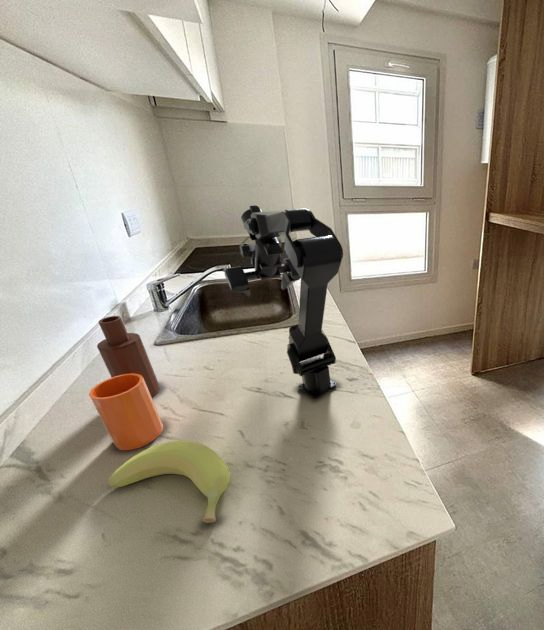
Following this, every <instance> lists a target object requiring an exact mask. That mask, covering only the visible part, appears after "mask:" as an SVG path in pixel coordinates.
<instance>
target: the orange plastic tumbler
mask: <svg viewBox="0 0 544 630" xmlns="http://www.w3.org/2000/svg"><path fill="white" fill-rule="evenodd" d="M88 397H89V399H90V400H91V402H92V404H93V407H94V409H95V410H96V412H97V414H98V416H99V418H100V420H101V421H102V424H103V426H104V428H105V429H106V432H107V433H108V435H109V437H110V439H111V441H112V443H113V444H114V446H115V447H116V448H115V449H117V450H120V451H132V450H135V449H139V448H142V447H144V446H146V445H148V444H150V443H152V442H153V441H154V440H156V439H157V438H158V437H159V436H160V435H161V434H162V433H163V430H164V425H163V421H162V419H161V416H160V415H159V412H158V409H157V408H156V405H155V403H154V399H153V397H151V395H150V393H149V390H148V388H147V385H146V383H145V381H144V378H143V377H142V376H141V375H140V374H135V373H132V374H123V375H119V376H115V377H112V378H111V377H109V378H107V379H105V380H103V381H100V382H98V384H95V386H93V387H92V388H91V389H90V390H89V393H88Z"/></svg>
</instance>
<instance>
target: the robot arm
mask: <svg viewBox="0 0 544 630" xmlns="http://www.w3.org/2000/svg"><path fill="white" fill-rule="evenodd" d="M240 220H241V222H242V224H243V229H244V230H245V231H246V233H247V234H248V236H249V239H250V240H251V241H254V242H249V243H247V242H246V243H239V252H240V256H242V258H243V259H244V258H245V259H246V258H250V264H251V266H252V267H254V270H252V271H246V272H245V270H244V268H243V267H242V265H239V266H233V267H226V268H225V270H224V271H223V272H224V277H225V280H226V281H227V284H228V286H229V288H230V291H231V292H235V293H236V292H238V293H243V294H244V295H246V296H247V298H251V295H252V294H251V288H250V284H249V283H250V282H255V281H260V280H261V281H266V280H270V279H276V278H281V282H280V288H281V290H282V291H284V290H285V289H287V288H288V287H289V286H291V285H293V284H294V283H295V282H297V281H300V285H299V289H300V290H299V308H298V324H295V325H292V326H290V328H289V329H288V344H287V346H286V347H287V348H286V354H287V357H288V360H289V363H290V365H291V369H292V373H293V374H294V375H298V376H299V377H301V379H302V383H300V384H299V385H297V389H298V390H299V391H301V392H302V393H304V394H305V395H308V396H309V397H310V398H312V399H314V400H315V399H318V398H320V397H321V396H322V395H324V394H325V393H328V391H330V390H332V389H333V388H335V387H336V386H337V382H335V381H333V380H332V379H331V376H330V375H331V374H330V367H329V366H331V365H335V364H336V361H337V357H336V355H335V353H334V350H333V347H332V345H331V343H330V341H329V339H328V336H327V335H326V334H325V332H324V330H323V325H324V315H325V307H326V301H327V291H328V284H329V283H330V282H331V281H332V280H333V279H334V278H335V276H337V275H338V274H339V271H340V268H341V264H342V260H343V258H344V252H343V251H344V249H343V246H342V244H341V242H340V240H339V239H338V238H337V235H336V234H335V232H334V231H333V229H332V228H331V227H329V226H328V225H327V224H325V223H324V222H322V221H321V220H319V219H318V218H317V217H315V215H314V213H313V211H312V210H311V209H309V208H306V207H302V208H301V207H300V208H289V209H288V208H287V209H284V210H272V211H271V210H270V211H269V210H268V211H264V210H262V209H261V208H260V206H259V205H258V204H257V205H249V208H248V209H247V210H245V211H244V212H243V213H242V214H241V216H240ZM306 231H307V232H308V231H309V233H310V234H311V235H313V236H312V237H304V238H297V239H295V240H292V237H291V233H300V232H306ZM281 237H284V247H282V239H281ZM284 251H285V253H286V256H287V257H288V258H283V261H282V262H283V263H282V262H281V255H282V254H284ZM281 275H282V276H281Z"/></svg>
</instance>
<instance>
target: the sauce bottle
mask: <svg viewBox="0 0 544 630" xmlns="http://www.w3.org/2000/svg"><path fill="white" fill-rule="evenodd" d="M98 324H99V327H100V329H101V331H102V334H103V336H104V338H105V339H103V340H101V341H99V342H98V344H97V345H96V348H97V350H98V352H99V354H100V356H101V358H102V360H103V363H104V365H105V367H106V370H107V371H108V373H109V376H110V378H112V377H115V376H119V375H123V374H132V373H135V374H140V375H141V376H142V377H143V378H144V381H145V383H146V385H147V388H148V390H149V393H150V395H151V397H152V398H154V397H155V396H156V395H157V394H158V393H159V392H160V390H161V386H160V383H159V381H158V378H157V375H156V373H155V371H154V368H153V366H152V362H151V361H150V358H149V355H148V353H147V351H146V348H145V345H144V343H143V341H142V337H141V335H140V334H138V333H136V332H128V331H127V329H126V325H125V323H124V321H123V319H122V317H121V316H120V315H112V316H107V317H103V318H101V319H100V320H98Z"/></svg>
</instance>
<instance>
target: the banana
mask: <svg viewBox="0 0 544 630" xmlns="http://www.w3.org/2000/svg"><path fill="white" fill-rule="evenodd" d="M170 474H172V475H173V474H174V475H179V476H180V475H181V476H185V477H187V478H189V479H190V480H191V481H192V483H193V484H194V485H195V486H196V487H197V488H198V490H199V491H200V492H201V493H202V494H203V496H204V497H206V498H207V507H206V511H205V513H204V516H203V518H202V522H203V523H204V524H205V523H206V524H213V523H215V522H216V521H217V518H216V507H217V504H218V501H219V499H220V497H221V496H222V494H223V493H224V492H225V490H226V489H227V488H228V486H229V484H230V481H231V471H230V469H229V466H228V465H227V463H226V461H225V460H224V459H223V458H222V457H221V456H220V455H219V454H218V453H217V452H216V451H214V450H213V448H211V447H209V446H207V445H206V444H204V443H199V442H198V441H197V442H196V441H191V440H173V441H172V440H171V441H167V442H163V443H159V444H156V445H153V446H151V447H149V448H146V449H144V450H143V451H141V452H138V453H137V454H136V455H134V456H132V457H131V458H129V459H128V460H126V461H125V462H124V463H123V464H122V465H120V466H119V467H118V468H117V469H116V470H115V471H114V472H113V473H112V474H111V475H110V477H109V478H108V479H107V481H106V482H107V483H106V484H107V486H108V487H109V488H110V489H114V488H121V487H125V486H127V485H131V484H133V483H136V482H139V481H142V480H145V479H148V478H152V477H156V476H161V475H170Z"/></svg>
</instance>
